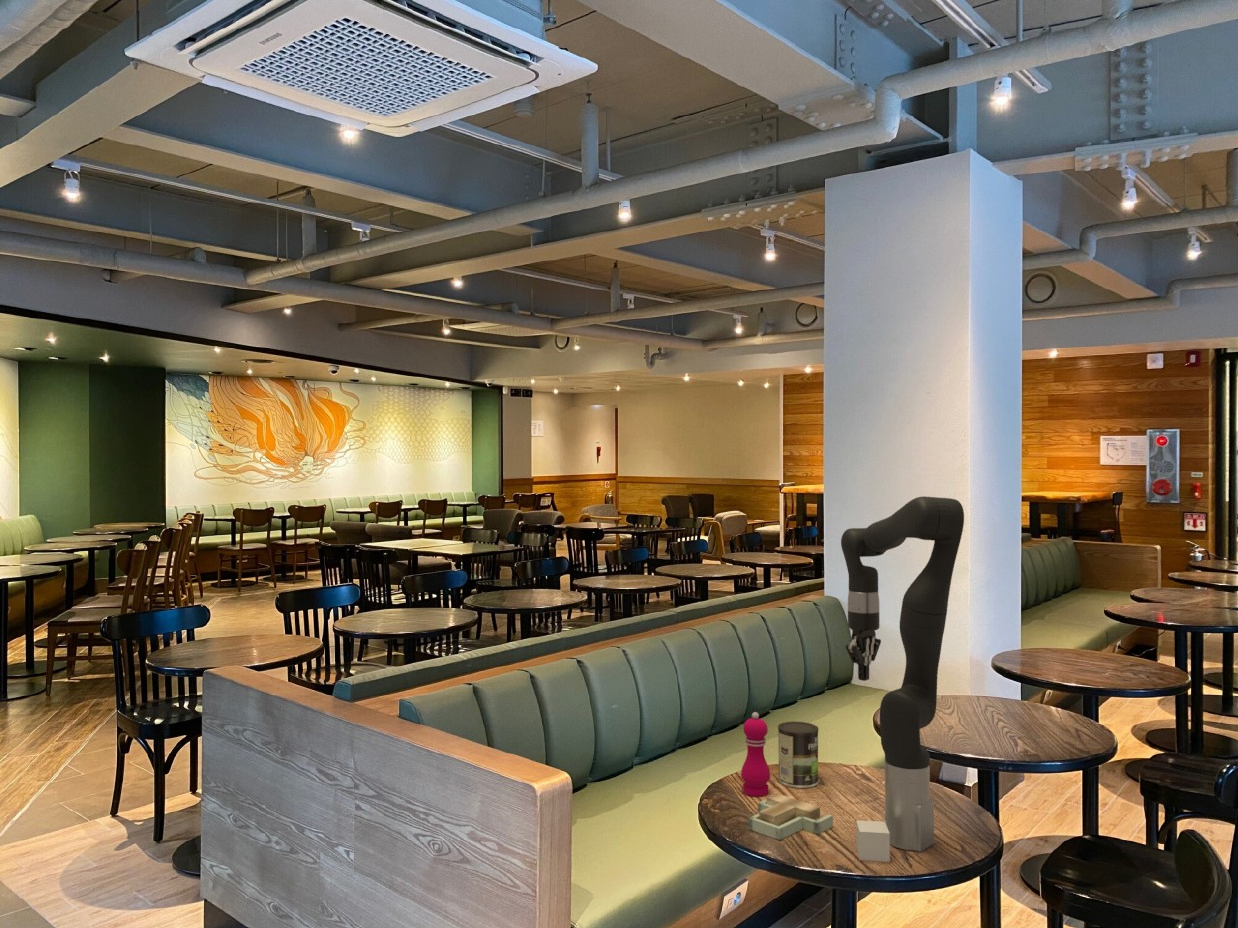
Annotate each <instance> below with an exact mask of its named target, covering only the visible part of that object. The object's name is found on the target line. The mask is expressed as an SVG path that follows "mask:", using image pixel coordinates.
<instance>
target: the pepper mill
mask: <svg viewBox="0 0 1238 928" xmlns="http://www.w3.org/2000/svg"><path fill="white" fill-rule="evenodd" d="M759 714H760V713H758V712H756V711H754V712H753V713H751V717H750V718H748V719H747V720H746V721H744V723H743V734H744V735H745V742H744V743H745V745H746V746H747V754H746V758H745V760H744V762H743V764H742V766H741V767H742V768H741V773H740V776H741V779H742V780H743V782H744V783H743V784H742V792H743V794H745V795H747V796H750V797H765V796H767V795H768V794H769V785H768V782H769V781H770V779H771V770H770V768H769V764H768V763H767V761H766V758H765V754H764V747H765V745H766V738H765V736H767V734H768V731H769V730H768V724H767V722H765V720H764V719H762V718H759V717H760V715H759Z"/></svg>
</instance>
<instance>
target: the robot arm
mask: <svg viewBox="0 0 1238 928" xmlns="http://www.w3.org/2000/svg"><path fill="white" fill-rule="evenodd" d="M964 523H965V512H964V507H963V505H962V504H961V502H960V500H957V499H955V498H950V497H937V496H926V495H925V496H917V497H915V498H913V499H911V500H909V501H907V502H906V503H905V504H904V505H903V506H902V507H900V508H899V509H898V510H896V511H895V512H894V513H893V514H891V515H890V516H888V517H886V518H883V519H881V520H877V521H875V522H873V523H870V524H869V526H867V527H862V528H861V527H858V528H857V527H855V528H854V527H853V528H848V529H846V530H845V531H843V533H842V535H841V539H840V546H841V550H842V553H843V558H844V560H845V564H846V569H847V574H848V595H847V627H848V629H850V630H851V636H850V637H851V642H850V643H847V644H846V645H845V649H846V651H847V653H848V656H849V657H850V659H851V661H852V663H853V664H856V665H857V676H858V677H857V678H858V680H859V681H862V682H863V681H864V682H865V681H868V680H870V665H871V664H872V662H874V661H876V657H877V654H878V651H879V648H880V647H881V643H882V639H880V638H877V637H876V631H877V630H879V629H880V596H879V571H878V570H877V568H876V567H873V566H869V565H864V564H863V562H862V561H861V558H864V557H867V558H869V557H879V556H882V555H884V554H885V553H886V552H887V551H889V550H893V549H895V548H897V547H899V546H901V545H902V544H903V543H904V542H905V540H906V539H909V538H910V539H911V538H912V539H919V540H924V541H932V542H933V541H934V543H933V546H932V547H933V548H932V550H931V555H930V556H929V560H928V562H927V563H926V565H925V567H924V568H922V571H921V572H920V573H919V574H918V575H917V577H916V578H915V579H914V580H913V582H912V583H911V584H910V585H909V587H908V588H907V589H906V591H905V593H904V595H903V596H902V597H903V598H902V602H901V609H900V617H899V633H900V637H901V638H900V639H901V641H902V642H901V643H902V645H903V649H904V653H905V669H904V675H903V680H902V683H901V687H900V688H896V689H893V690H891V691H889V692H887V693H885V695H884V696H883V697H882V699H881V702H880V705H879V727H880V730H879V731H880V744H881V748H882V751H883V753H884V818H885V819H884V822H885V823H886V826H887V828H888V831H889V833H890V846H892V847H895V848H898V849H900V850H901V849H902V850H907V851H917V852H919V853H921V852H923V851H924V850H926V849H927V848H929V847H932V846H933V845H934V844H935V828H934V827H935V815H934V814H935V813H934V812H935V807H934V805H935V804H934V799H932V798H931V796H930V795H931V793H930V792H931V791H930V790H931V788H930V782H931V780H930V779H931V778H930V777H931V775H930V773H931V772H930V770H931V769H930V763H931V761H930V752H929V750H928V749H927V748H926V747H924V746H921V734H920V733H921V731H920V730H921V729H923V728H926V727H928V726H929V725H930V724H931V723H932V722H933V721H934V718H935V716H936V711H937V700H938V699H937V698H938V697H937V695H938V675H939V674H938V672H939V665H940V664H939V663H940V660H941V659H940V658H941V652H942V644H943V637H944V634H945V633H944V632H945V628H946V627H945V626H946V620H947V614H948V606H949V597H950V591H951V590H950V589H951V584H952V578H953V574H954V573H953V572H954V569H955V564H956V560H957V556H958V552H959V549H960V548H959V547H960V545H961V539H962V535H963V531H964V525H965V524H964Z"/></svg>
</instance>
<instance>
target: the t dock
mask: <svg viewBox="0 0 1238 928" xmlns="http://www.w3.org/2000/svg"><path fill="white" fill-rule="evenodd" d="M769 807H771V805H768V804H767V798H766V799H763V800H761V801H759V802H758V803H757V814H754V815H752V816H750V817H748V830H750V831H753V832H756V833H758V834H761V835H764V836H766V837H769V838H772V839H774V840H778V841H782V840H783V839H785V838H787V837H790V836H791V835H794V834H796V833H797V832H800V831H802V830H804V831H807V832H809V833H812V834H815V835H820V834H821V833H823V832H826V831H827V830H829V829H831V828H833V827H834V815H832V814H830V813H829V814H826V815H825V816H823V817H820V819H818V820H813V819H810V818H807V817H804V816H799V817H797V818H795V819H793V820H791V821H789V822H787V823H784V824H782V825H780V826H776V825H773V824H771V823H768V822H765V821H762V820H759V812H760V811H762V810H764V809H767V808H769Z"/></svg>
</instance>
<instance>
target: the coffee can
mask: <svg viewBox="0 0 1238 928" xmlns="http://www.w3.org/2000/svg"><path fill="white" fill-rule="evenodd" d="M777 730H778V782H779V783H780V784H781V785H783V786H785V787H790V788H795V789H809V788H813V787H816V786H817V785H819V727H818V726H817V725H815V724H813V723H810V722H805V721H786V722H782V723H779V724H778V725H777Z"/></svg>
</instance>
